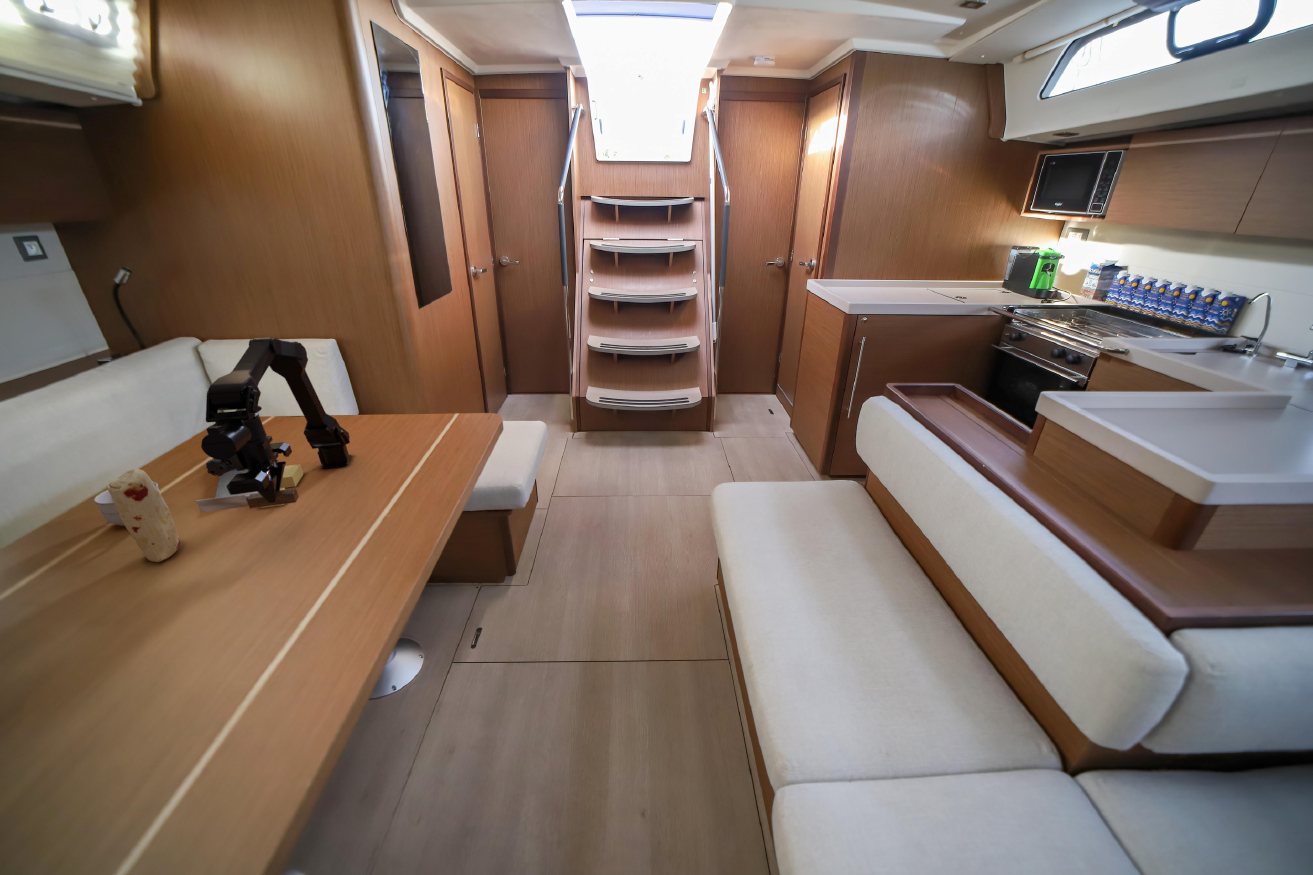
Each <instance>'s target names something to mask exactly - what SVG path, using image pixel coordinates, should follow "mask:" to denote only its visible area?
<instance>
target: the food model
mask: <svg viewBox="0 0 1313 875" xmlns="http://www.w3.org/2000/svg"><path fill="white" fill-rule="evenodd" d="M153 482H154V481H152V479H151V477H150V476H149V475H148V473H147V472H146V471H145V470H142V469H140V468H133V469H130V470H128V471H126V472H124V473H122V474H121V475H120V476H118V477H117V478H115V479H113V480H111V481H108V482H107V483H106V490H108V491H109V493H110V495H111V497H112V500H113V502H114V504H115V506H116V508H117V510H118V512H119V515H120V517H121V520H122V522H123V523H124V525H125V526H124V527H125V528H126V530H127V531H128V533H129V535H131V537H132V538H133V540H134V541H135V543H136V545H137V547H138V548H139V549H140V551H141V552H142V555H143V556H144V557H145V558H146V559H147V560H148V561H150V562H155V563H160V562H162V561H164V560H167V559H169V558H170V557H171V556H173V554H175V553H176V552H177V551H178V549H179V547H180V544H181V540H180V538H179V534H178V530H177V528H176V525H175V522H174V518H173V515H172V512H171V510H170V507H169V506H168V504H167V502H166V501H165V499H164V498H163V495H162V493H161V492H160V493H161V494H160V493H159V491H158V490H157V488H156V487H155V485H154V484H153Z"/></svg>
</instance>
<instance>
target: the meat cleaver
mask: <svg viewBox="0 0 1313 875" xmlns="http://www.w3.org/2000/svg"><path fill="white" fill-rule="evenodd" d="M247 472H248V469H245V470H242V471H237V469H236V468H235V469H233V470H231V471H229V472H226V473H224V474H223V475H222V476H219V478H218V479H219V480H218V483H217V488H216V493H215V497H214V498H220V497H228V496H236V495H244V494H245V496H246V498H248V497H249V495H250V494H255V493H258V492H250V493H242V494H235V495H231V494H229V492H228V489H227V487H226V486H227V485H228V483H229V482H230V481H231V480H232V479H233V478H234V477H235V475H236V474H240V473H247Z"/></svg>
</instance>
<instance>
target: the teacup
mask: <svg viewBox="0 0 1313 875" xmlns="http://www.w3.org/2000/svg"><path fill="white" fill-rule="evenodd" d="M152 482H153V484H154V485H155V487H156V488H157V490H158V491H159V493H160V494H161V495H162V492H161V490H160V488H159V483H157V482H155V481H152ZM93 502H94V503H95V504H96V506H97V508H98V509H99V512H100V514H101V515H102V517H103V519H104V520H105V521H107V522H108V523H109V524H112V525H115V526H121V527H125V525H124V523H123V522H122V520H121V517H120V515H119V512H118V510H117V508H116V506H115V504H114V502H113V500H112V497H111V495H110V493H109V491H108V489H106V490H104V491H102V492H101V493H98V494H97V495H96V496H95V497H94V499H93Z"/></svg>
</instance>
